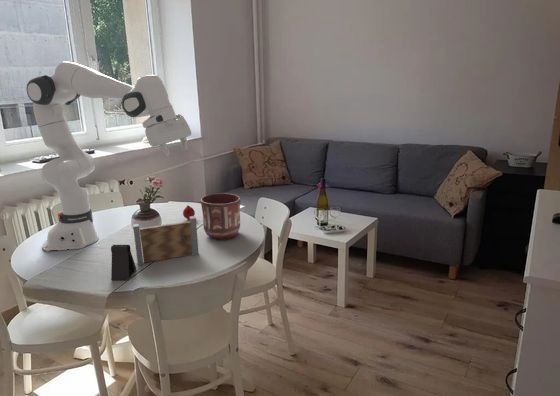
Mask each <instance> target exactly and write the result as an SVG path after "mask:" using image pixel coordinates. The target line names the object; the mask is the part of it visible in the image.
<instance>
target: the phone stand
mask: <svg viewBox="0 0 560 396" xmlns="http://www.w3.org/2000/svg"><path fill="white" fill-rule="evenodd" d="M110 251H111V279H110V281H129V280H130V278H131V277H132V275H133V274H135V272H136V271H137V267H136V263H135V261H134V257H133V254H132V251H131V245H130V244H112V245H111V247H110Z"/></svg>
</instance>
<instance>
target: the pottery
mask: <svg viewBox="0 0 560 396" xmlns="http://www.w3.org/2000/svg"><path fill="white" fill-rule="evenodd" d="M200 205H201V211H202V223H203V224H202V225H203V230H204V233H205V234H206V235H207V236H208V237H209V238H210V239H212V240H214V241H226V240H230V239H233V238H234V237H235V236H237V234H238V232H239V231H240V229H241V196H239V195H237V194H234V193H229V192H228V193H225V192H222V193H221V192H220V193H219V192H217V193H211V194H207V195H204V196H202V197H201V198H200Z"/></svg>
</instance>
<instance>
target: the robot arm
mask: <svg viewBox="0 0 560 396" xmlns="http://www.w3.org/2000/svg"><path fill="white" fill-rule="evenodd" d="M26 93H27V97H28V98H29V100H30V101H31V102H33V104H32V110H33V114H34V118H35V121H36V122H35V123H36V125H37V127H38V130H39V133H40V136H41V138H42V140H43V143H44V145H45V146H46V148H48V149H52V150H53V151H54V152H55V153H56V154H57V155H58V157H57V158H54V159H51V160H49V161H47V162H46V163H44V164H43V166H42V167H41V177H42V179H43V180H44V182H45V183H46V184H48V185H50V186H52V188H54V190H55V191H56V193H57V195H58V197H59V200H60V206H61V211H58V213H57V218H58V222H57V223H56V224H55V225H54V226H53V227H51V228H50V229H49V231H48V232H47V238H46V240H45V241H44V242H43V243H42V250H43V249H44V250H46V251H45V252H50V251H49V250H58V251H65V250H66V251H67V249H69V250H77V249H78V250H79V249H84V248H85V247H87V246H89V245H91V244H94V243H96V242H97V241H98V240H99V235H98V233H97V232H96V229H95V224H94V216H93V210H92V209H91V205H90V200H89V199H90V198H89V194H88V191H86V189H83V188H81V187H80V184H79V182H78V180H80V179H82V178H85V177H88V176H89V175H90V174H91V173H93V172H94V171H95V168H96V160H95V158H94V157H93V156H92V155H91V154H89V153H87V152H86V151H85V150H83V149H82V148H81V146H80V145H79V143H77V141H76V140H75V137H74V136H73V134H72V131H71V128H70V126H69V124H68V121H67V119H66V116H65V113H64V110H63V109H64V107H65V105H66V106H70V105H71V104H72V103H73V102H75V101H76V100H78V99H79V98H80V97H85V98H90V99H104V98H115V99H116V98H117V99H121V107H122V110H123V111H124V113H125V114H126V115H127V116H128V117H130V118H143V117H148V116H149V117H148V118H147V119H146V120H144V121H143V122H142V123H141V124H142V127H143V129H145V130H144V132H145V136H146V138H147V142H148V144H149V145H150V146H151V147H152V148H155V147H158V146H159V149H160V150H161V151H163V153H164V155H165V156H166V157H169V156H170V157H171V156H172V155H173V153H172V150H169V148H167V144H168V143H172V142H176V141H178V140H180V143H181V146H180V148H181V150H182V151H183V152H185V151H186V150H188V149H189V147H188V144H187V143H188V139H187V137H190V136H192V130H191V128H190V125H189V124H188V122H187V120H186V119H185V118H184V116H183V115H182V114H180V113H179V114H178V113H177V114H176V113H175V110H174V107H173V104H172V103H171V101H170V99H169V94H168V92H167V89H166V87H165V84H164V83H163V80H162V79H161V78H160V76H158V75H156V74H148V75H143V76H140V77H138V78H137V80H136V83H135V85H133V84H130V83H126V82H123V81H120V80H117V79H115V78H113V77H111V76H108V75H105V74H103V73H101V72H99V71H97V70H95V69H93V68H90V67H87V66H85V65H83V64H79V63H77V62H71V61H62V62H60V63H58V65H57V66H56V67H55V70H54V74H52V75H47V74H45V75H42V76H41V75H40V76H36V77H34V78H32V79H30V80H29V81H28V82H27V84H26ZM44 250H43V251H44Z"/></svg>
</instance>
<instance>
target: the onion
mask: <svg viewBox="0 0 560 396" xmlns="http://www.w3.org/2000/svg"><path fill="white" fill-rule="evenodd" d="M195 214H196V211H195V210H194V208H193V207H191V206H190V205H189V204H186V207H185V208H184V209H183V210H182V216H183V217H184V219H186V220H187V221H190V216H195Z"/></svg>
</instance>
